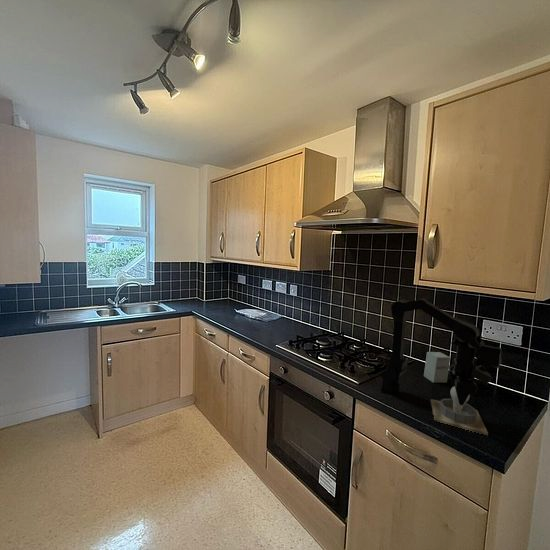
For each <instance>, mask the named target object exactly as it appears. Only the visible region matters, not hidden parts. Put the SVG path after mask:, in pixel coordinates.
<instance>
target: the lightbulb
mask: <svg viewBox="0 0 550 550" xmlns="http://www.w3.org/2000/svg"><path fill="white" fill-rule="evenodd" d="M449 391H450V397H451V399H453V411H454V412H457V413H461V410H462V409H463V406H464V405H460V404H459V401H458V397H457V393H456V389H455V386H454V387H453V386H452V387H451V389H450V390H449ZM470 397H471V394H469V396H468V397H467V399H466V401H465V403H466V404H467V402H468V401H469V400H470ZM465 403H464V404H465Z"/></svg>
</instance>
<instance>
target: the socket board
mask: <svg viewBox="0 0 550 550" xmlns="http://www.w3.org/2000/svg"><path fill="white" fill-rule="evenodd" d="M430 406H431V410H432V415H434V417H433V421H434V420H435V421H437V422H440V423H444V424H448V425H451V426H455V427H458V428H462V429H465V430H464V431H466V430H469V431H468V432H470V431H472V432H471V433H474V432H476V433H475V434H477V433H479V434H478V435H481V434H484V435H483V436H485V435H487V436H486V437H488V436H489V432H488V430H487V427H486V426H485V424H484V421H483V420H482V416H481V415H480V414H479V411H478V409H475V408H474V407H473V406H472V405H470V404H469V403H467V402H466V403H465V404H464V406H463V409H462V410H461V413H457V412H454V411H453V399H452V398H442V399H440V400H437V399H432V398H431V399H430ZM451 426H450V427H451ZM455 427H454V428H455ZM458 428H457V429H458ZM462 429H461V430H462Z"/></svg>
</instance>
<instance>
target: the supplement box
mask: <svg viewBox="0 0 550 550" xmlns="http://www.w3.org/2000/svg"><path fill="white" fill-rule="evenodd" d="M450 363H451V357H450V356H448V355H446V354H445V353H442V352H440V351H437V352H436V351H427V352H426V358H425V365H424V372H423V377H424V378H426V379H427V380H429V381H430V382H431V383H432V384H433V383H448V375H449V365H450Z"/></svg>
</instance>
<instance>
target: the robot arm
mask: <svg viewBox="0 0 550 550" xmlns="http://www.w3.org/2000/svg"><path fill="white" fill-rule="evenodd" d="M416 310H421V311H422V312H424V313H425V314H427V315H428V316H430V317H431V318H433V319H434V320H436V321H438V322H439V323H441V324H443V325H444V326H446V327H447V328H449V330H450V331H451V332H452V333H453V335H455V336H456V337H457V338H456V339H454V340H453V341H451V345H454V346H456V353H455V357H454V359H453V361H454V363H451V364H449V370H448V374H449V376H450V379H451V383H452V385H453V386H452V387H454V386H455V389H456V393H457V397H458V401H459V404H460V405H464V403H465V401H466V399H467V397H468V396H469V394H470V395H471V394H476V393H478V389H479V388H478V385H477V383H476V382H475V379H476V380H477V381H479V382H482V383H483V384H484V385H488V384H489V383H490V382H491V380H492V378H493V377H492V375H491V374H490V373H489V372H488V371H486V368H485V366H483V365H486V366H489V367H493V368H496V369H500V366H501V361H502V350H503V349H502V347H498V346H492V345H487V344H485V342H484V340H483V339H482V337H481V336H480V330H479V327H477V326H476V325H475V324H473V323H469V322H467V321H465V320H462V319H458V318H456V317H455V316H453V315H451V314H449V313H448V312H446V311H444V310H443V309H441V308H439V307H438V306H436V305H435V304H433V303H432V302H430V301H428V300H427V299H426V298H420V299H414V300H409V301H408V300H405V299H401V300H397V301H394V302H392V304H391V305H390V311H391V318H392V320H393V330H392V331H393V332H392V344H391V345H392V346H391V355H390V358H389V359H388V362H387V366H386V369H385V370H383V371H381V372H380V378H382V379H381V381H382V382H381V388H380V392H381V393H384V394H389V395H392V396H393V395H394V396H398V393H399V390H400V383H401V382H400V380H399V379H400V378H399V377H400V376H402V375H404V373H406V371H407V370H408V369H409V368H408V367H409V366H408V363H409V359H406V358H405V356H404V351H405V350H404V349H405V338H406V337H405V335H406V323H407V321H408V318H409V316H410V313H411V311H416ZM475 358H476V359H475ZM475 360H477V362H479V364H480V365H475ZM481 364H482V365H481Z"/></svg>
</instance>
